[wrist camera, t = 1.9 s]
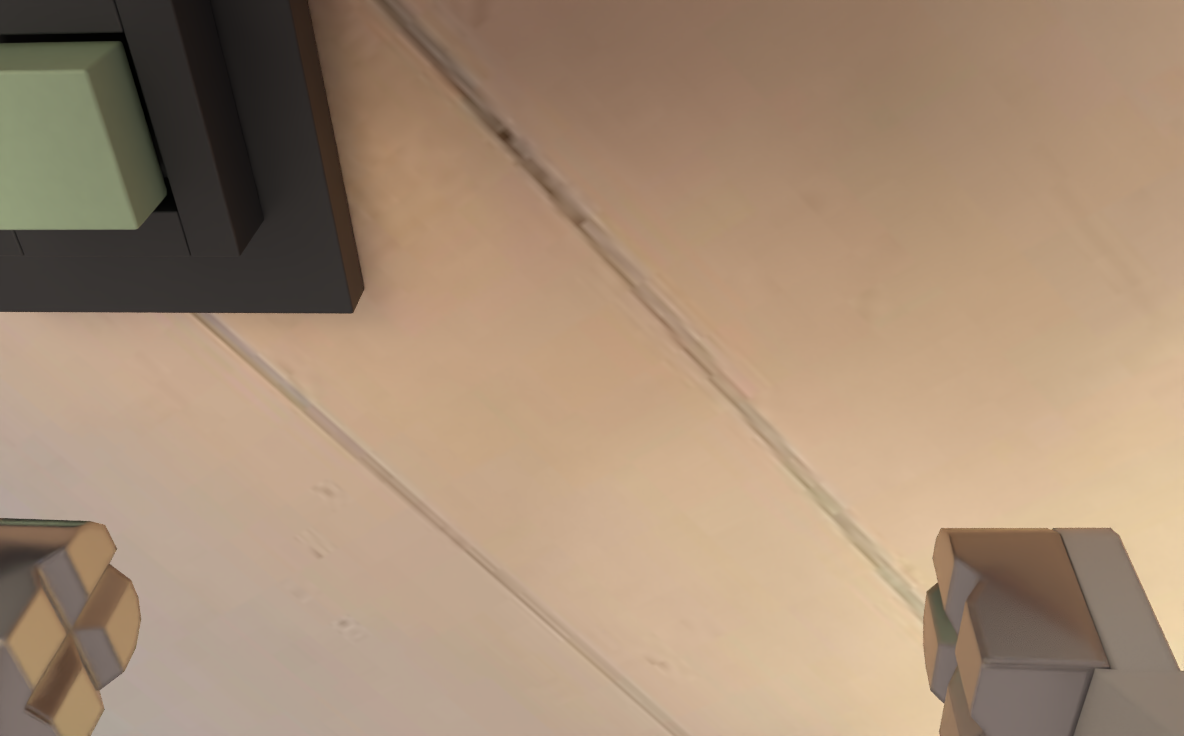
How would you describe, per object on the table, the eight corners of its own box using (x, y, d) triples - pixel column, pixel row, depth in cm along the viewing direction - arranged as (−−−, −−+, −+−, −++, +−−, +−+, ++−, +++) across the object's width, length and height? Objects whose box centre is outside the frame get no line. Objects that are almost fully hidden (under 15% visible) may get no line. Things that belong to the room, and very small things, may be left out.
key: (-39, 42, 23) (-86, 72, 22) (123, 39, 23) (85, 70, 21) (20, 194, 25) (-19, 231, 24) (170, 194, 25) (138, 231, 24)
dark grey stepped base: (-190, -193, 23) (-293, -165, 21) (266, -211, 22) (214, -185, 20) (11, 288, 30) (-48, 351, 28) (365, 289, 29) (335, 354, 27)
